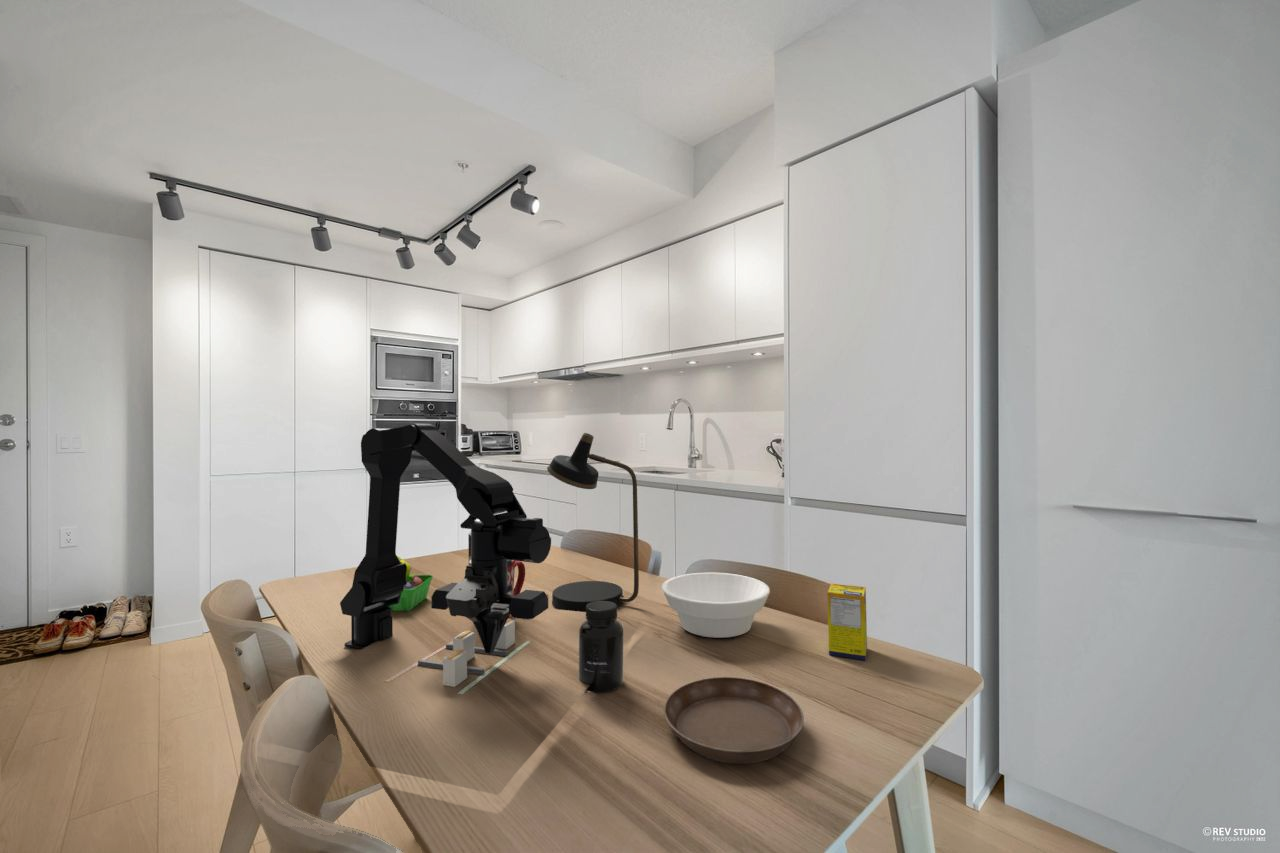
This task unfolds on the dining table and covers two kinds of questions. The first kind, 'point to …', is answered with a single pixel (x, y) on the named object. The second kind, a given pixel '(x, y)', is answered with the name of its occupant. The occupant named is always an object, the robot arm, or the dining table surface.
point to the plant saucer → (734, 719)
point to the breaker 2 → (507, 635)
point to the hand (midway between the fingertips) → (489, 652)
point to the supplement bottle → (601, 648)
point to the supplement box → (847, 621)
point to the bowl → (715, 602)
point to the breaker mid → (465, 643)
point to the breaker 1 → (455, 668)
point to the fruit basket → (412, 590)
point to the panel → (469, 669)
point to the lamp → (586, 477)
